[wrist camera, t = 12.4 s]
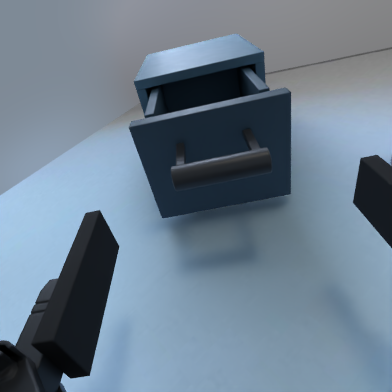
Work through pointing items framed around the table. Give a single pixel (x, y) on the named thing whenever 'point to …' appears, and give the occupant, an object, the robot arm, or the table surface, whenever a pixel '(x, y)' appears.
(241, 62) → the dark blue box
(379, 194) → the robot arm
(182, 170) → the drawer
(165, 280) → the table surface
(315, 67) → the table surface
